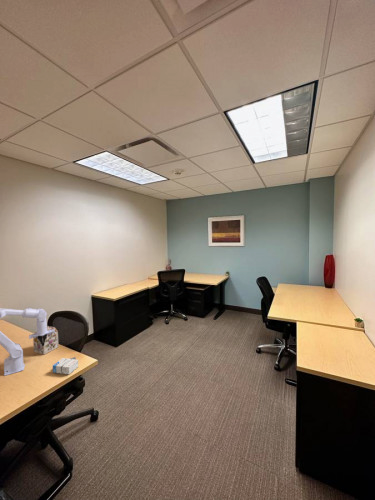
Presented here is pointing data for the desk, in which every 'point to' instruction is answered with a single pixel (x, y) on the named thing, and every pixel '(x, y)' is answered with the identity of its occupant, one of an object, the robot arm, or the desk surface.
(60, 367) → the ink box
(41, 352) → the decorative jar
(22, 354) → the robot arm
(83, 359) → the desk surface
